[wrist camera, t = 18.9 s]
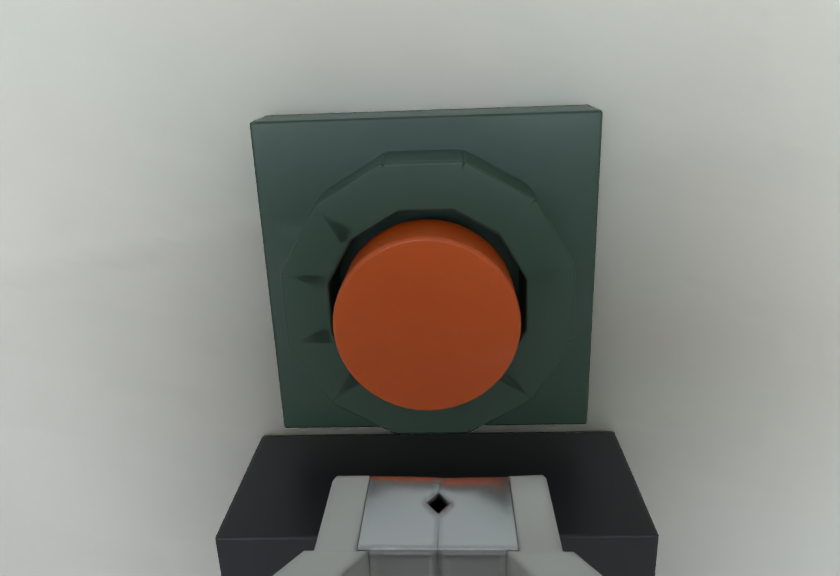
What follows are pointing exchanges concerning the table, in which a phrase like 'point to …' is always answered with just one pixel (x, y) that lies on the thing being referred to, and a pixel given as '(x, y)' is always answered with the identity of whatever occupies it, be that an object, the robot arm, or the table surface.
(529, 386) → the switch box
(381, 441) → the grey square frame
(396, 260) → the power button
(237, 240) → the table surface
